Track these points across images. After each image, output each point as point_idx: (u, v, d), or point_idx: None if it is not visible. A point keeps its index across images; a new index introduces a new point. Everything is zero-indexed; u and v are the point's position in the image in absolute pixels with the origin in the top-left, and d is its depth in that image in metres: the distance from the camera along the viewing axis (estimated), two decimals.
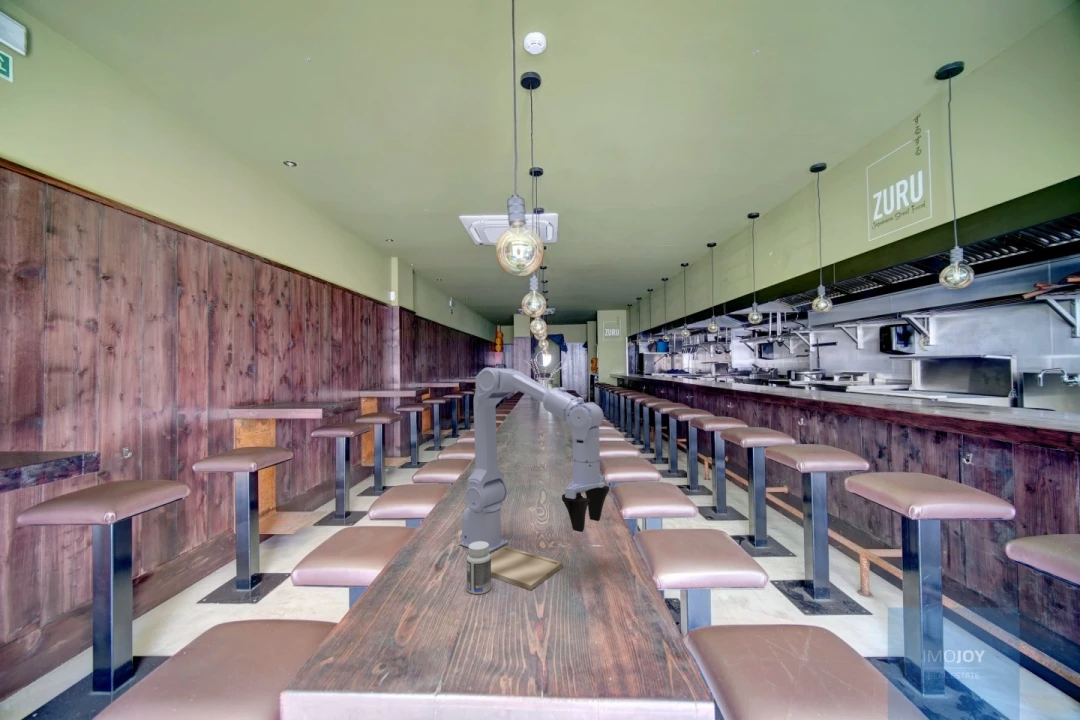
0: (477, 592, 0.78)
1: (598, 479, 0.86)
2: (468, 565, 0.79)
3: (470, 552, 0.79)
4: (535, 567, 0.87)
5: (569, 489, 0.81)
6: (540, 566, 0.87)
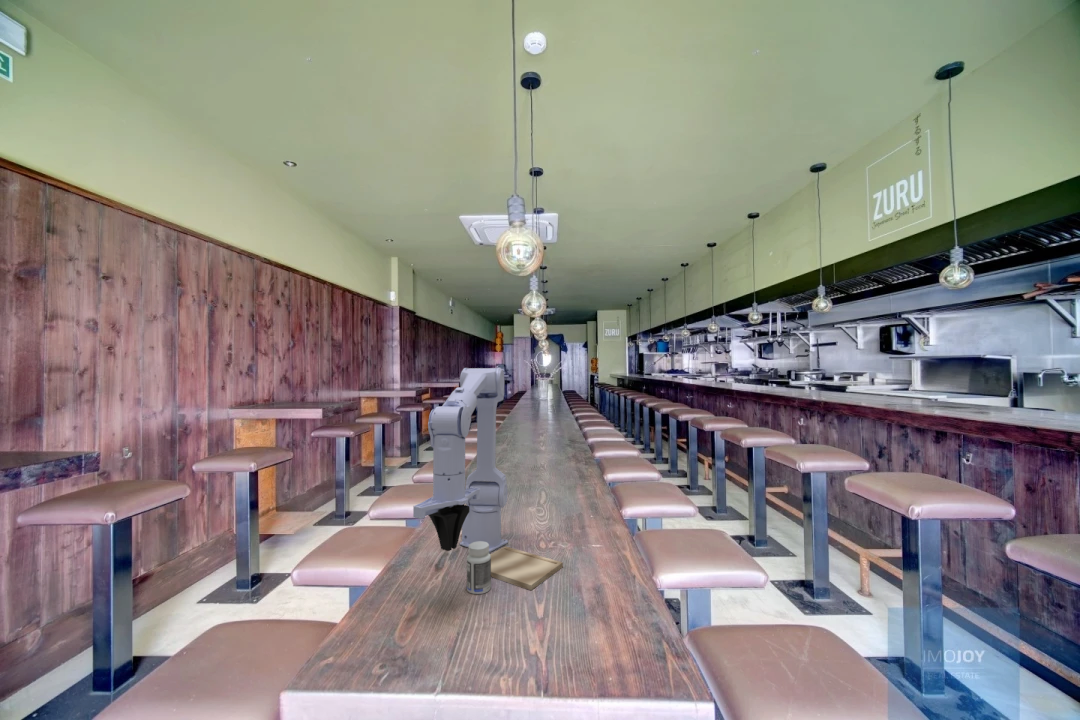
0: (477, 592, 0.78)
1: (460, 495, 0.73)
2: (468, 565, 0.79)
3: (470, 552, 0.79)
4: (535, 567, 0.87)
5: (417, 507, 0.69)
6: (540, 566, 0.87)
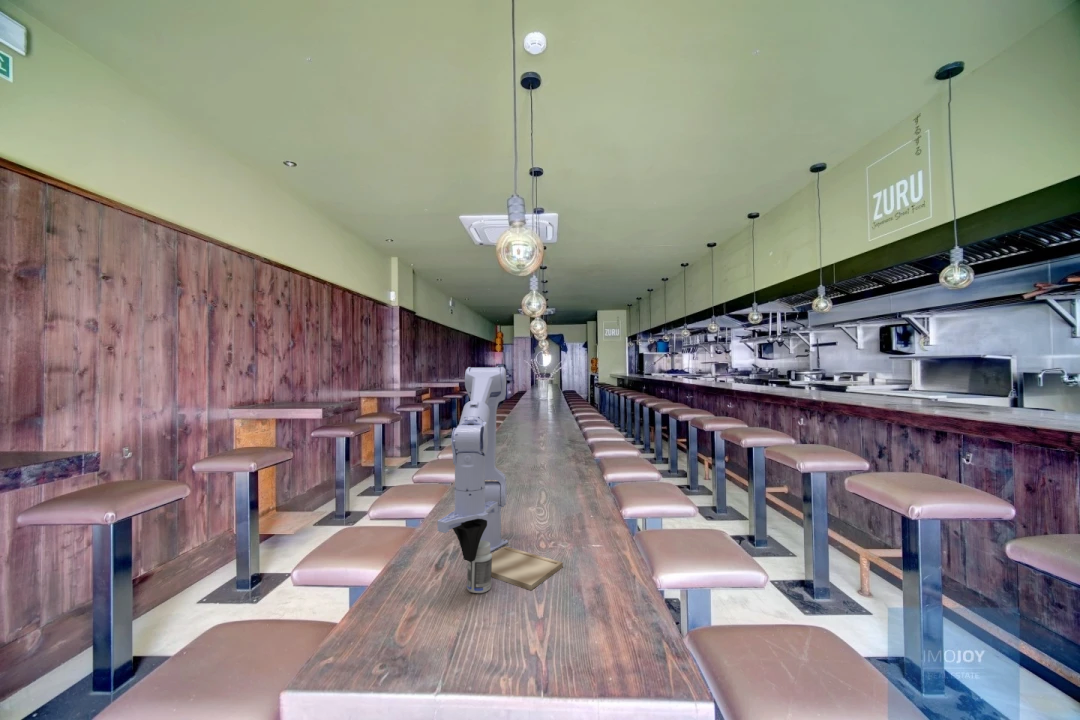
0: (477, 591, 0.78)
1: (480, 509, 0.77)
2: (469, 563, 0.79)
3: None
4: (535, 567, 0.87)
5: (441, 522, 0.73)
6: (540, 566, 0.87)
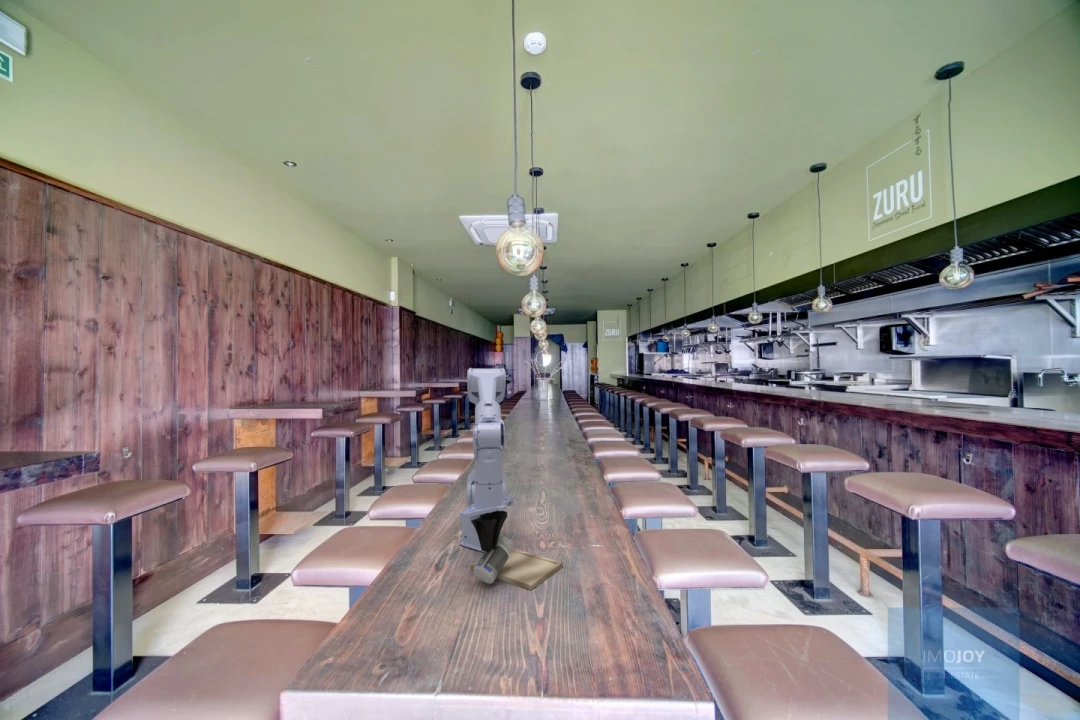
0: (485, 569, 0.80)
1: (499, 502, 0.82)
2: None
3: None
4: (535, 567, 0.87)
5: (463, 513, 0.77)
6: (540, 566, 0.87)
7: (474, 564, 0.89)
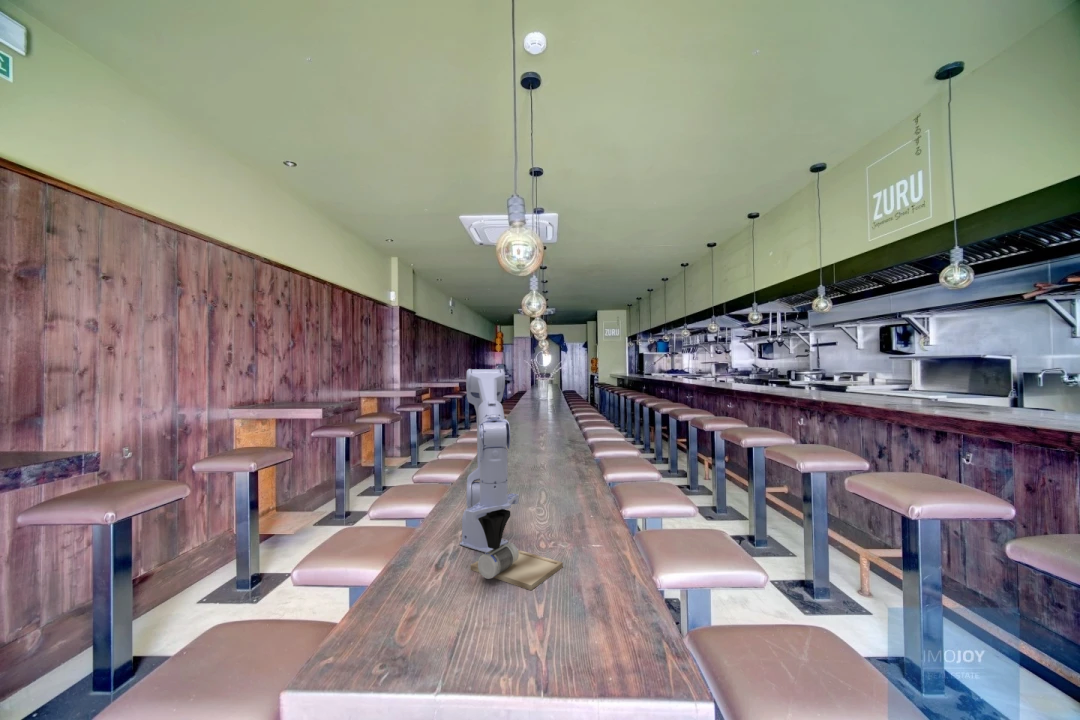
0: (491, 558, 0.82)
1: (504, 500, 0.83)
2: None
3: (507, 544, 0.89)
4: (535, 567, 0.87)
5: (469, 512, 0.79)
6: (540, 566, 0.87)
7: (474, 564, 0.89)
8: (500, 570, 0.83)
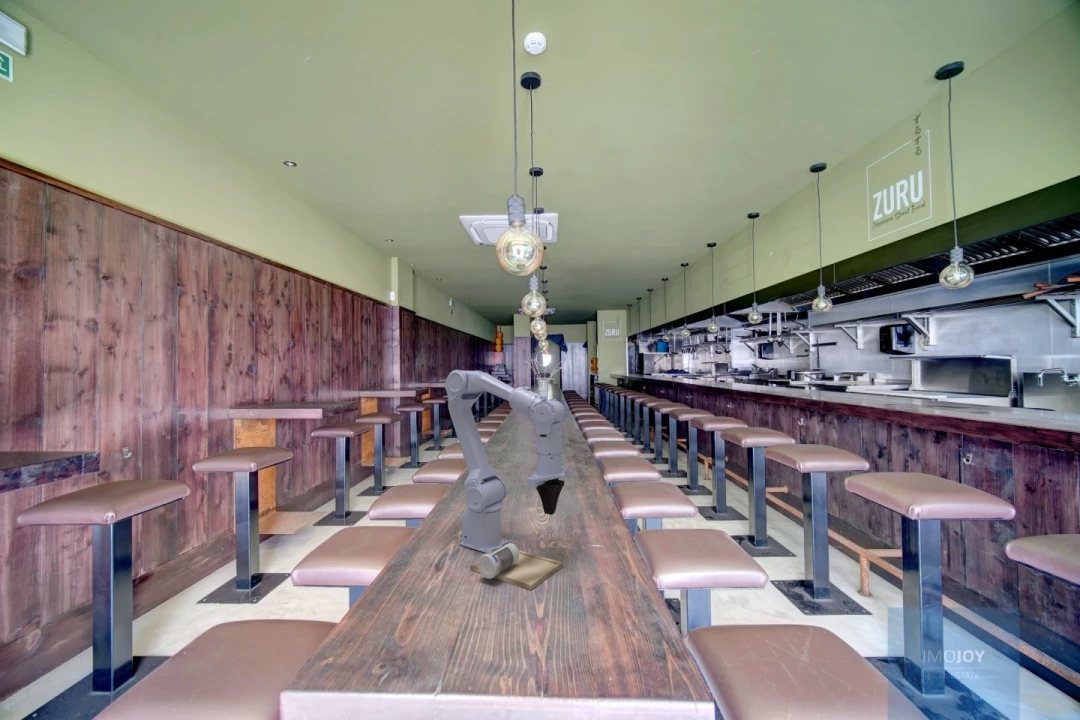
0: (492, 558, 0.82)
1: (559, 470, 0.92)
2: (500, 546, 0.87)
3: (508, 544, 0.89)
4: (535, 567, 0.87)
5: (530, 479, 0.88)
6: (540, 566, 0.87)
7: (474, 564, 0.89)
8: (500, 571, 0.83)
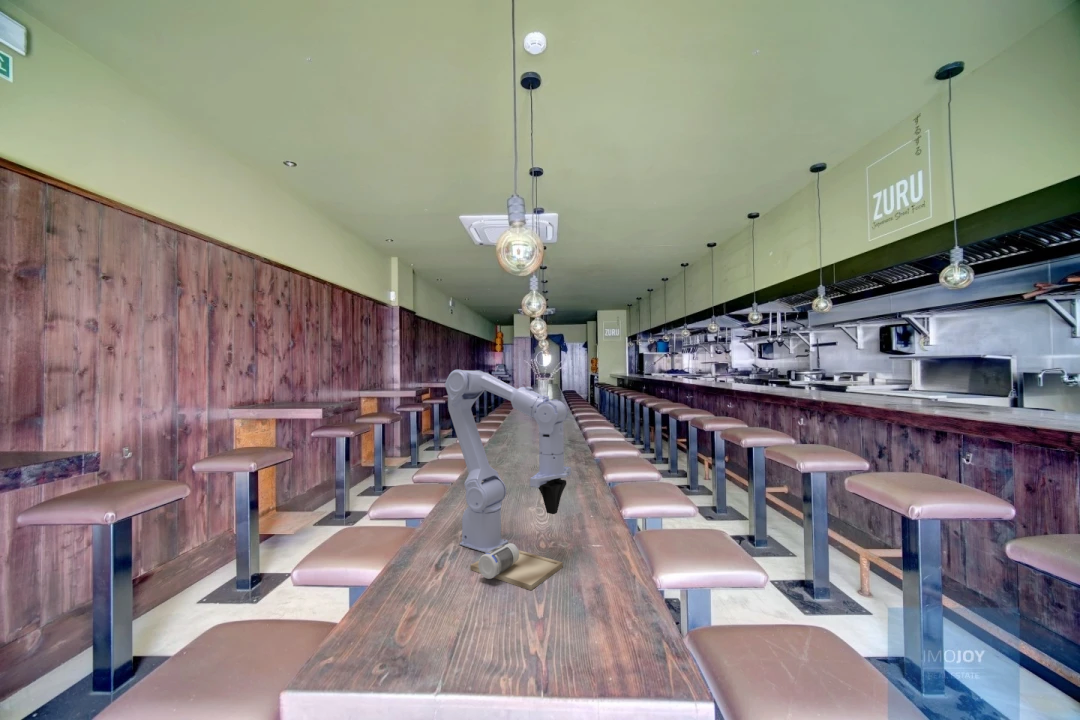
0: (492, 558, 0.82)
1: (562, 470, 0.93)
2: (500, 546, 0.87)
3: (508, 544, 0.89)
4: (535, 567, 0.87)
5: (533, 479, 0.88)
6: (540, 566, 0.87)
7: (474, 564, 0.89)
8: (500, 571, 0.83)
